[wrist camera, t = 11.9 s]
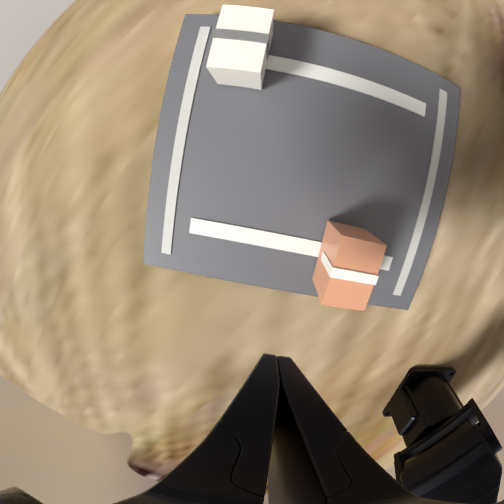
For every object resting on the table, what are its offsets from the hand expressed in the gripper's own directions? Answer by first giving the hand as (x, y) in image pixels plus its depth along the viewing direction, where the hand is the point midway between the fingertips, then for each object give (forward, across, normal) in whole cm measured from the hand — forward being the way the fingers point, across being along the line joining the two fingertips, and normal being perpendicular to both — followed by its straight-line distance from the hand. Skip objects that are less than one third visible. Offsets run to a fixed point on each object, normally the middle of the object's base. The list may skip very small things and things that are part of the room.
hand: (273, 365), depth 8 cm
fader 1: (+9, +4, -11) cm, 15 cm away
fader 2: (+9, -4, -1) cm, 10 cm away
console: (+11, -1, -6) cm, 13 cm away
